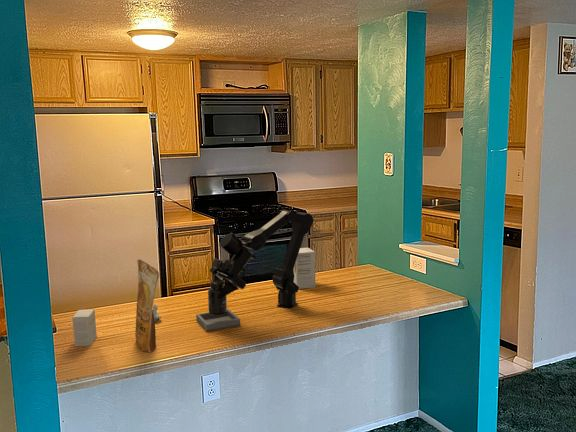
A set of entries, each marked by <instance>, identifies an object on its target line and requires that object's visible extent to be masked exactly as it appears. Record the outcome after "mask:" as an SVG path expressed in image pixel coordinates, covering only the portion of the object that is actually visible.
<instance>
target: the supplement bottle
mask: <svg viewBox="0 0 576 432" xmlns="http://www.w3.org/2000/svg"><path fill="white" fill-rule="evenodd" d="M223 282H224V281H222V280H213V279H212V280H211V281H210V284H209V287H210V288H209V289H208V290H207V303H208V305H207V306H208V312H209V313H210V314H212V315H222V314H225V313H226V312H227V309H228V304H227V302H228V301H227V299H228V298H227V295H226V296H224V297H223V298H221V299H219V298H218V295H219V293H220V292H221V290H222V288H223V287H224V285H225V284H224V285H223Z"/></svg>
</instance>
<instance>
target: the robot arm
mask: <svg viewBox="0 0 576 432" xmlns="http://www.w3.org/2000/svg"><path fill="white" fill-rule="evenodd" d="M289 222H291V229H292V233H291V236H290V240H289V242H288V245H287V249H286V251H285V255H284V258H283V260H282V264H281V266H279V268H278V267H275V269H274V272H273V275H272V283H273V285H274V287H275V289H276V290H277V291H278V293H277V305H276V307H280V308H287V309H293V308H294V307H295V306H297V305H298V303H299V302H297V297H296V296H297V293H298V291H299V290H300V289H299V287H298V286H297V285H296V284H295V283H294V270H293V269H294V266H295V262H296V259H297V256H298V253H299V250H300V248H302V247H301V246H302V244H303V240H304V237H305V235H306V234H307V233H308V232H309V231H310V230H311V229H312V226H313V224H314V218H313V215H312V214H311V213H307V212H300V211H297V212H292V210H285V209H284V210H281V212H280V213H279V214H278V215H276V216H275V217H274V218H272V219H271V220H270V221H268V222H267V223H266V224H264V225H263V226H262V227H261V228H259V229H256V230H253V231H251V232H249V233H246V234H245V235H244V236H243V237H241V238H239V237H237V236H236V234H235V233H233V232H230V233H229V234H227V235H225V236H224V237H222V238H221V239H220V241H219V246H220V248H222V249H223V250H224V251H225V252H226V253H228V255H230V256H232V257H231V259H229V258H227V259H226V258H224V259H222V260H221V259H219V258H214V259H213V261H212V264H211V268H210V269H209V272H210V273H211V275H212V281H213V280H222V281H223V285H224V286H223V288H222V290H221V292H220V293H219V295H218V298H219V299H221V298H223V297H224V296H226V297H227V296H228V295H229V294H231V293H234V292H235V291H239V290H244V289H245V288H246V286H247V284H246V283H247V282H246V281H245V280H244V279H243V278H241V277H240V274H241V272H242V273H244V272H245V266H246V265H247V264H248V262H249V261H250V260H251V259H252V260H255V261H256V260H257V257H256V252H254V251H259V250H261V249H262V248H263V247H264V246H265V244H266V243H267V241H268V239H269V238H270V237H271V236H273V235H274V234H275V233H277V231H279V230H280V229H281V228H283V227H284V226H285V225H286V224H287V223H289ZM249 249H250V250H252V251H250V250H249Z"/></svg>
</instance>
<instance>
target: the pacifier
mask: <svg viewBox="0 0 576 432" xmlns="http://www.w3.org/2000/svg"><path fill="white" fill-rule="evenodd" d="M152 310H153V314H154V320H155V322H157V321H158V319H161V318H162V316H160V313H158V312H157V311H158V304H156V303H155V304H154V303H153V308H152Z"/></svg>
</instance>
